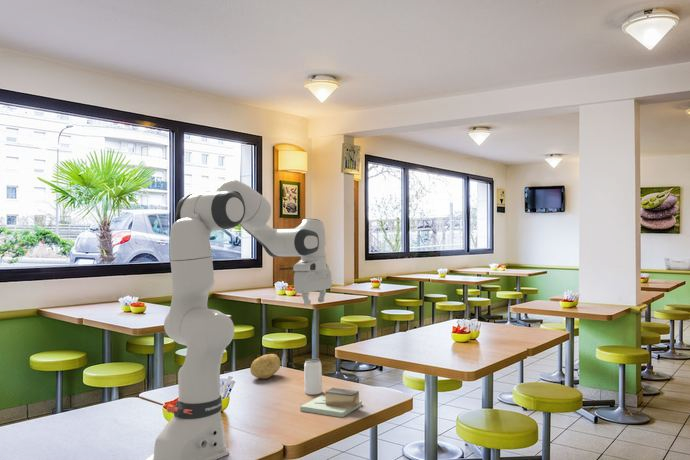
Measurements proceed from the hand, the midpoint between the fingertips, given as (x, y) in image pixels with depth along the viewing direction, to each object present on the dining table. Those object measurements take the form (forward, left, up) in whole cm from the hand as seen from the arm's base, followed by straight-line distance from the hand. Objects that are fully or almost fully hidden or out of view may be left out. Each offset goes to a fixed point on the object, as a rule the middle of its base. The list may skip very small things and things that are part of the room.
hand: (314, 303), depth 196 cm
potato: (+19, +36, -34) cm, 53 cm away
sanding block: (-5, -13, -32) cm, 35 cm away
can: (+8, +6, -34) cm, 36 cm away
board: (-5, -9, -34) cm, 36 cm away
